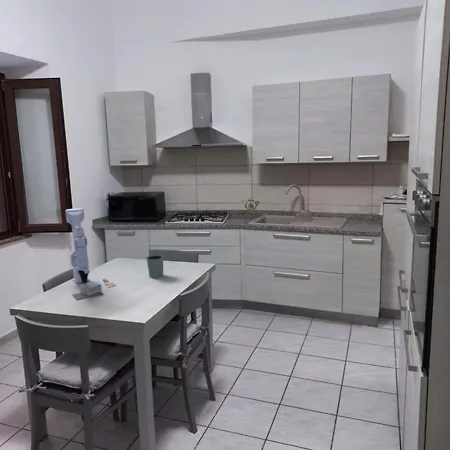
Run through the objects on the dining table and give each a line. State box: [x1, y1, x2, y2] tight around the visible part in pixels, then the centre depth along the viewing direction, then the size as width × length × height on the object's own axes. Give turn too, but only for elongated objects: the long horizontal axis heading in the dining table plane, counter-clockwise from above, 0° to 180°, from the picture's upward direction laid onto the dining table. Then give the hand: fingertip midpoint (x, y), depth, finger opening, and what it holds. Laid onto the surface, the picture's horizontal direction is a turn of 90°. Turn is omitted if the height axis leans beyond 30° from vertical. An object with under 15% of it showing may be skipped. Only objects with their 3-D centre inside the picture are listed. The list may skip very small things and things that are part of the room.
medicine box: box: [79, 281, 103, 296], centre depth 219 cm, size 8×4×9 cm
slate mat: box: [72, 292, 104, 301], centre depth 217 cm, size 10×14×1 cm
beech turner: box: [102, 278, 117, 288], centre depth 235 cm, size 15×4×1 cm, turn 34°
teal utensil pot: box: [146, 254, 164, 279], centre depth 245 cm, size 10×10×12 cm
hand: (84, 282), depth 220 cm, fingers closed
